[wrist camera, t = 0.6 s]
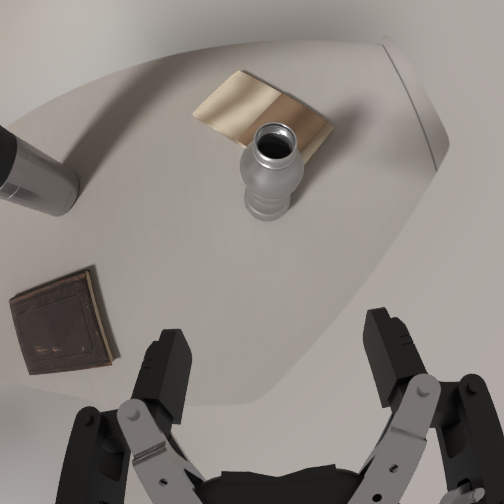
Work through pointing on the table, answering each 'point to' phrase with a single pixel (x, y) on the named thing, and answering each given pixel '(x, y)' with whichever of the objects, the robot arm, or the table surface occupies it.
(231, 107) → the board
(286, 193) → the plastic bottle
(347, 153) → the table surface
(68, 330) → the hardcover book
